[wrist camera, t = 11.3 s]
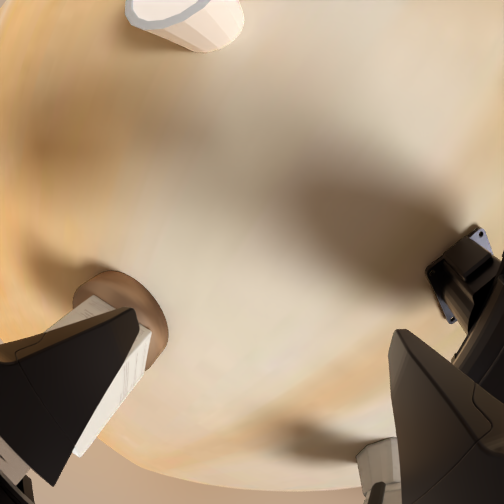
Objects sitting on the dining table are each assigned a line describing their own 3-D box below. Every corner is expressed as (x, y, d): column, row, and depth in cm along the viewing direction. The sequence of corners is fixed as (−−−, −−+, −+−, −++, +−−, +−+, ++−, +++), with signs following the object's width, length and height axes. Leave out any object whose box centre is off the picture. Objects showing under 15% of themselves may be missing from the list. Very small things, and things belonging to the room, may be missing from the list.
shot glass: (204, 75, 18) (158, 48, 12) (157, 34, 17) (108, 7, 11) (270, 20, 15) (249, -28, 9) (215, -17, 15) (181, -59, 8)
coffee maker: (421, 456, 27) (429, 553, 10) (369, 474, 30) (364, 567, 13) (403, 413, 24) (416, 551, 8) (335, 436, 28) (321, 565, 11)
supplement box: (93, 291, 24) (-2, 363, 12) (154, 330, 23) (68, 431, 12) (91, 341, 27) (20, 409, 15) (144, 376, 26) (80, 461, 14)
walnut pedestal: (188, 336, 26) (175, 354, 24) (135, 367, 30) (123, 382, 28) (116, 250, 25) (96, 261, 22) (78, 300, 29) (62, 311, 26)
